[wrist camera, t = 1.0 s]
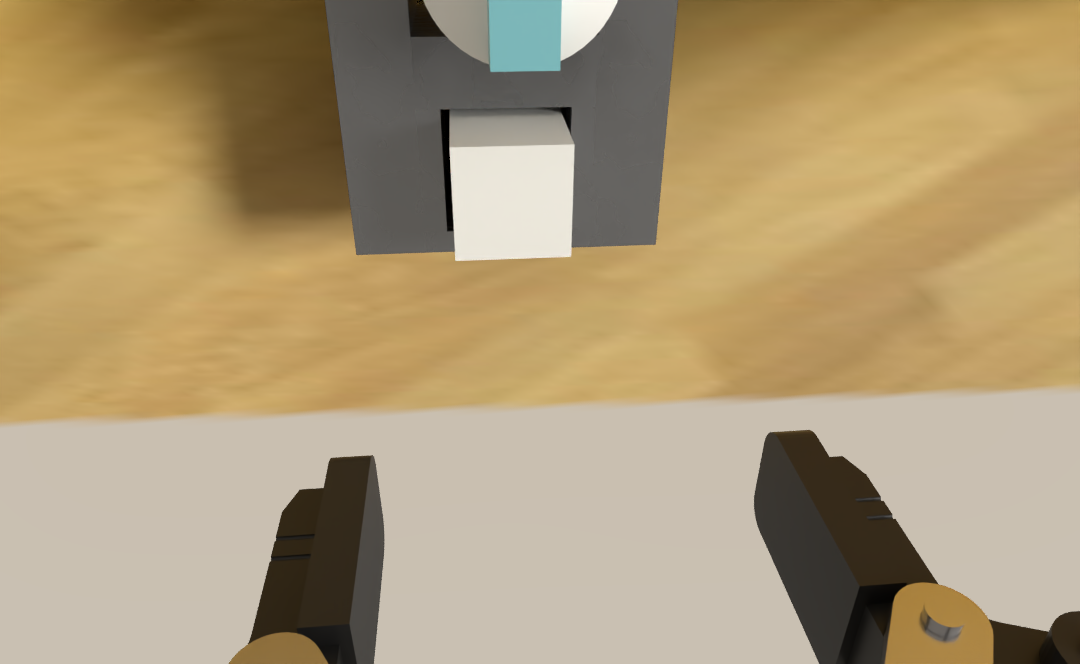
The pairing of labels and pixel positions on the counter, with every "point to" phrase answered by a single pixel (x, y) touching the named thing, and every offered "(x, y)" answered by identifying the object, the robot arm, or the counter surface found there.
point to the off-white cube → (511, 183)
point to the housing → (466, 83)
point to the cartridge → (520, 29)
